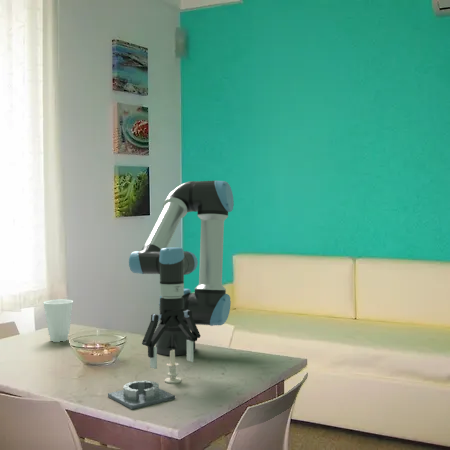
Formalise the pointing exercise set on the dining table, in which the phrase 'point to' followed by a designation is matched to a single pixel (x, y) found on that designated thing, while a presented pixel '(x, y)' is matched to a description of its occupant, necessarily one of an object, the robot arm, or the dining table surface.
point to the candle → (172, 369)
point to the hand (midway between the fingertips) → (172, 364)
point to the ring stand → (140, 394)
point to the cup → (58, 318)
